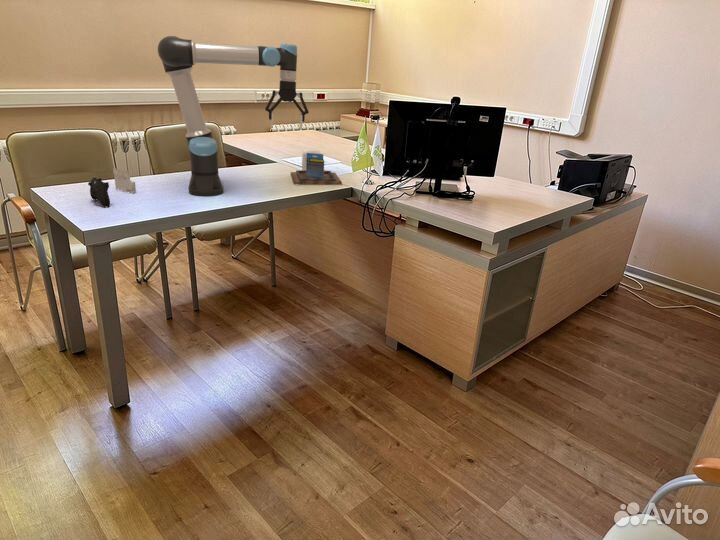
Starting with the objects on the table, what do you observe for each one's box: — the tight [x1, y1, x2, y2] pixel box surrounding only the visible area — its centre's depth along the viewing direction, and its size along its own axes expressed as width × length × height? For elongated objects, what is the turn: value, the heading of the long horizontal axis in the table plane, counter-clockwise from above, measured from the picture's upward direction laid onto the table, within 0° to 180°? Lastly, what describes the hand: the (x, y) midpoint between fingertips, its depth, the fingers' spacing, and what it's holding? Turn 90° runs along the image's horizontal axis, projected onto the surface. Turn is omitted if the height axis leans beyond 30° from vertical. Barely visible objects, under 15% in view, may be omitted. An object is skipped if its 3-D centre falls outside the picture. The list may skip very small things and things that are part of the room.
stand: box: [290, 169, 343, 186], centre depth 262 cm, size 24×21×3 cm
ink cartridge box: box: [112, 167, 137, 194], centre depth 221 cm, size 2×11×10 cm, turn 59°
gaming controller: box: [87, 177, 111, 207], centre depth 202 cm, size 14×6×10 cm, turn 45°
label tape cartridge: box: [306, 153, 325, 178], centre depth 260 cm, size 9×4×12 cm, turn 84°
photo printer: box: [301, 148, 322, 171], centre depth 276 cm, size 10×4×12 cm, turn 103°
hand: (286, 127), depth 241 cm, fingers open, 13 cm apart
